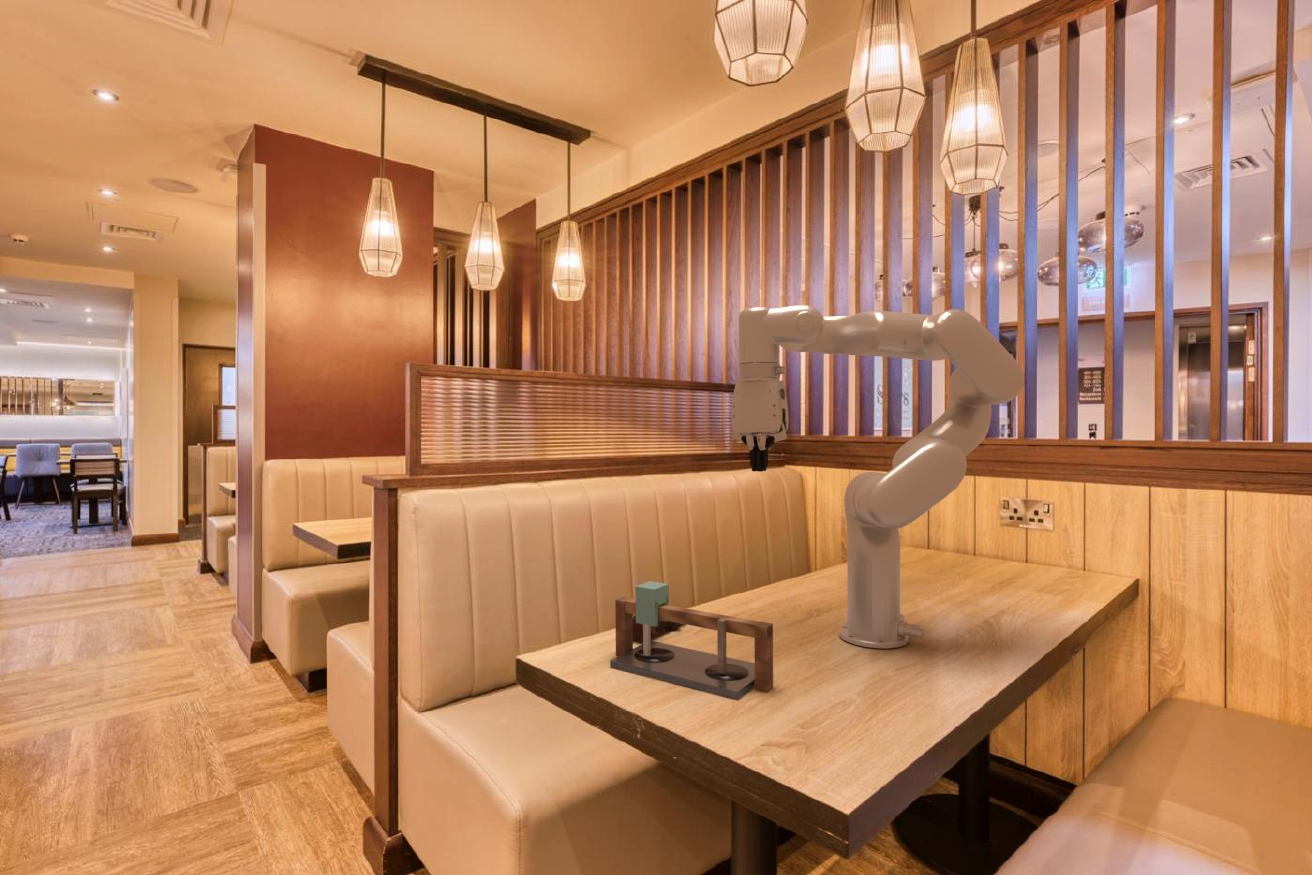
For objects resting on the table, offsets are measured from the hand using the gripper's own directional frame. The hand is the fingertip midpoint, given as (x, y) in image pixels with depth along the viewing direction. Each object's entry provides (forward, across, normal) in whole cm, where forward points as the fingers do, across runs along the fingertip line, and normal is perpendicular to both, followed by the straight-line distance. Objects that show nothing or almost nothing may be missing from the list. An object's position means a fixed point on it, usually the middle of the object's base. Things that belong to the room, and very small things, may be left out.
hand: (759, 470), depth 124 cm
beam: (+32, +3, +21) cm, 38 cm away
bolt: (+32, +18, +7) cm, 38 cm away
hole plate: (+32, +3, +21) cm, 38 cm away
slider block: (+30, +10, +21) cm, 38 cm away
